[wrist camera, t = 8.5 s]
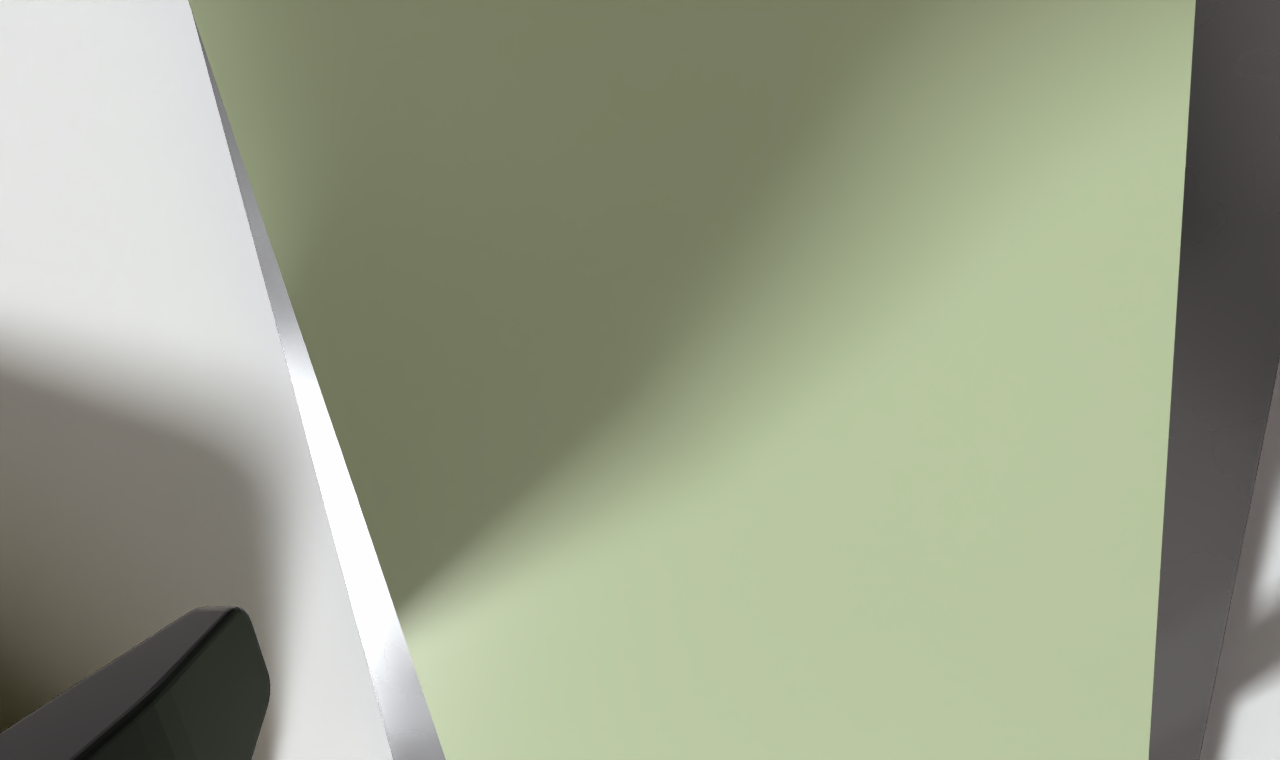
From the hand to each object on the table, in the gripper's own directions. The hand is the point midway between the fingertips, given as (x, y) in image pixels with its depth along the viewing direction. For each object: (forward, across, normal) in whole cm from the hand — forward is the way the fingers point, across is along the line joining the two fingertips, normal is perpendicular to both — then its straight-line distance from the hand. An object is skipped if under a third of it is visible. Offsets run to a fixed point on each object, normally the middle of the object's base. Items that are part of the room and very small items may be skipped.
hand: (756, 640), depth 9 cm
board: (+3, 0, 0) cm, 3 cm away
